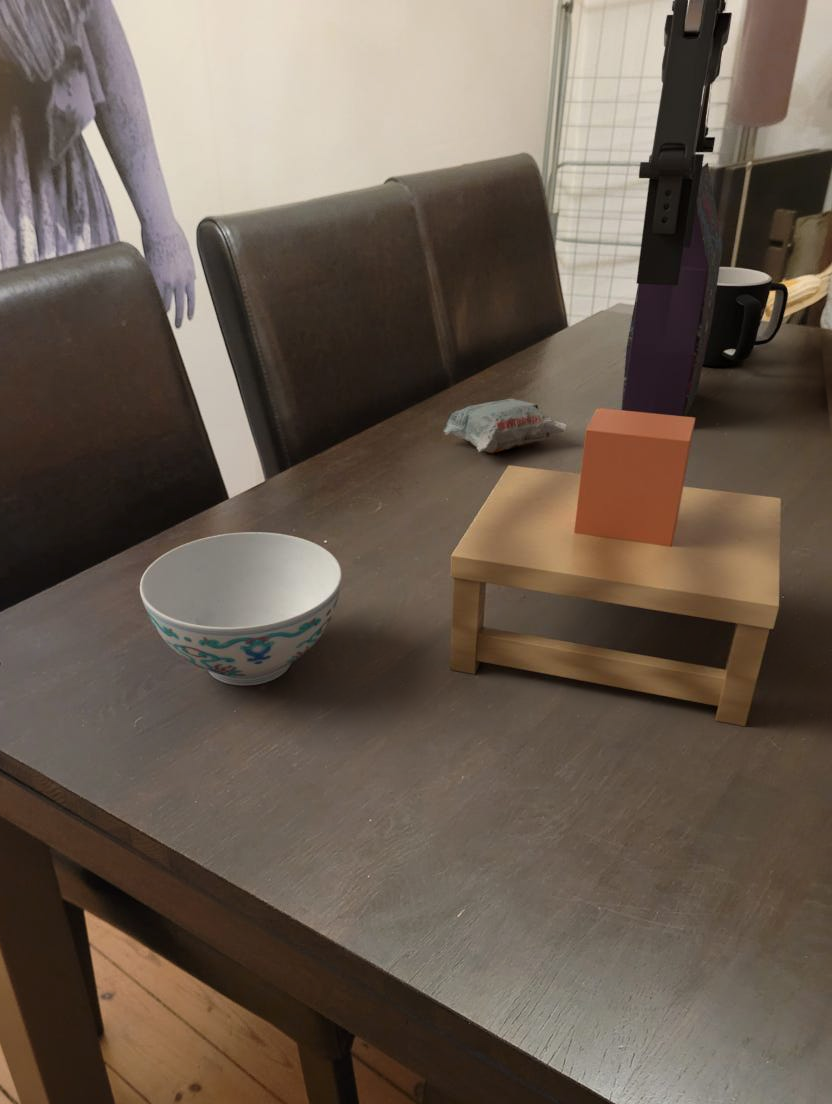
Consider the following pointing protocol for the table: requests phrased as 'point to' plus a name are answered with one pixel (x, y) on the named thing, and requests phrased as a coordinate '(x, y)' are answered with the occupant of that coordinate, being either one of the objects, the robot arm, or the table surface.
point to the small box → (633, 475)
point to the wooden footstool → (622, 585)
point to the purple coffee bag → (675, 322)
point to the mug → (742, 315)
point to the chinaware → (242, 602)
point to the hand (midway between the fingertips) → (665, 263)
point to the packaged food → (502, 425)
